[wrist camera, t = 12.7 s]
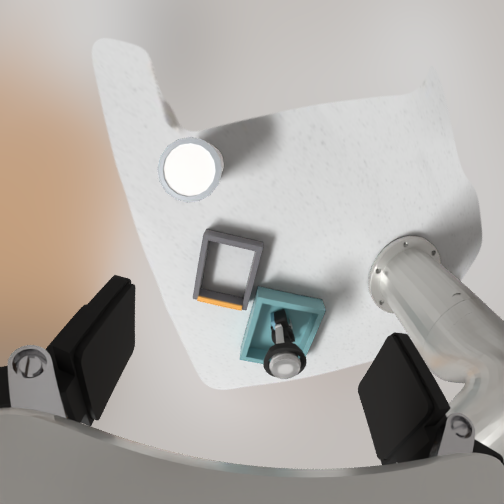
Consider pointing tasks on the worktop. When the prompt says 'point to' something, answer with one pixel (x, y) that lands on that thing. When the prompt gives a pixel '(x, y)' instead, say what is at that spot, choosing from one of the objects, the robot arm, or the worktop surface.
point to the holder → (200, 293)
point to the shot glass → (190, 169)
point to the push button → (283, 349)
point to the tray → (301, 315)
